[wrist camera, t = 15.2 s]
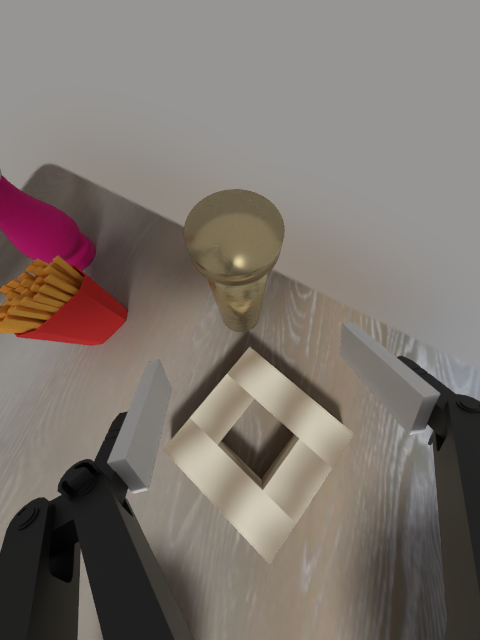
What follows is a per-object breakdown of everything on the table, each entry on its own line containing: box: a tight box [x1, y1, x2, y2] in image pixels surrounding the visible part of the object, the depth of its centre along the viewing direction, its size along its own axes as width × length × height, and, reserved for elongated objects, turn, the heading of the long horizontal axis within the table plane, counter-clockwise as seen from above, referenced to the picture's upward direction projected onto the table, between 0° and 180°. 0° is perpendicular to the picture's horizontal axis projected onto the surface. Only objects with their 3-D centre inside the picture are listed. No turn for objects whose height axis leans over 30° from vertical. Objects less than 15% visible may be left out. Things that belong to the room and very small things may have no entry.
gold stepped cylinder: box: [184, 189, 284, 332], centre depth 21 cm, size 6×6×16 cm
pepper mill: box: [0, 170, 95, 270], centre depth 22 cm, size 7×7×20 cm
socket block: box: [163, 347, 354, 565], centre depth 23 cm, size 14×14×2 cm
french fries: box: [0, 256, 128, 345], centre depth 23 cm, size 8×4×12 cm, turn 140°
